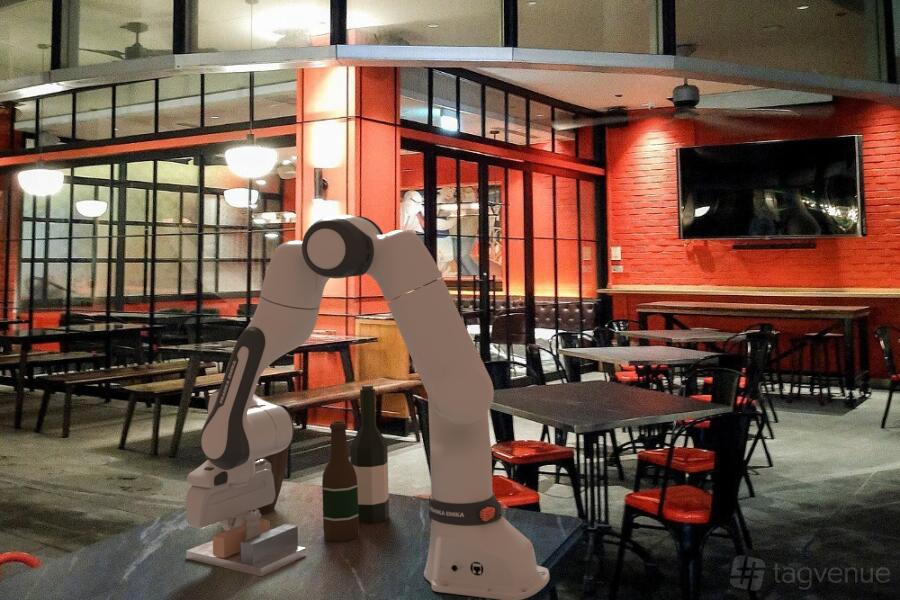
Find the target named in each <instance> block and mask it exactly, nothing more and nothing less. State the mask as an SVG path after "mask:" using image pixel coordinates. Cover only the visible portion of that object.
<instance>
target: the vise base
mask: <svg viewBox="0 0 900 600" xmlns="http://www.w3.org/2000/svg"><path fill="white" fill-rule="evenodd" d="M298 529H299V527H298V525H294V524H289V523H285V524H282V525H280V526H277V527H274V528H273V529H270V530H269V531H267V532H265V533H262V534H260V535H257V536H255V537H252V538H250V539H247V540H245V541H242V542H241V551H240V552H238V553H235V554H233V555H230V556H228V557H226V558H222V557H218V556H213V540H211V541H208V542H205V543H202V544H201V545H197V546H195V547H192V548H189V549H187V550H185V551H186V552H185V553H186V554H185V555H186V556H185V557H186V559H187V560H192V561H196V562H199V563H205V564H208V565H212V566H217V567H220V568H225V569H228V570H232V571H233V570H234V571H237V572H241V573H245V574H250V575H254V576H258V577H263V576H266V575H267V574H269V573H271V572H273V571H276V570H278V569H281V568H282V567H284V566H286V565H289V564H291V563H293V562H295V561H297V560H301V558H303V557H307V548H306V547H305V546H304V547H303V546H299V532H298Z"/></svg>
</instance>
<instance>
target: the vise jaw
mask: <svg viewBox="0 0 900 600" xmlns="http://www.w3.org/2000/svg"><path fill="white" fill-rule="evenodd" d="M259 522H260V533H261V534H262V533H265V532H267V531H269V530H271V527H270V526H271V523H270V520H269V519H268V520H267V519H264V518H260V519H259ZM246 532H247V526H246V523H245V524H244V525H241V526H238V527H235V528H233V529H230V530H227V531H225V530H224V531H222V532H220V533H217V534H215V535H212V541H213V556H218V557H222V558H226V557H228V556H230V555H233V554H235V553H238V552H240V551H241V542H242V541H244V540H245V539H246Z"/></svg>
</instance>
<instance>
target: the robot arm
mask: <svg viewBox="0 0 900 600" xmlns="http://www.w3.org/2000/svg"><path fill="white" fill-rule="evenodd" d="M364 275H367V276H370V277H371V278H372V279H373V280H374V282H375V283H377V286H378V287H379V289H380V291H381V294H382V296H383V299H384V300H385V302H386V305H387V307H388V309H389V311H390V314H391V316H392V318H393V321H394V322H395V325H396V326H397V329H398V331H399V333H400V336H401V338H402V340H403V343H404V344H405V346H406V349H407V351H408V353H409V355H410V357H411V360H412V363H413V364H414V365H413V366H414V367H415V369H416V371H417V374H418V376H419V378H420V381H421V383H422V385H423V387H424V390H425V392H426V394H427V399H428V401H427V403H428V406H427V407H428V429H429V430H428V431H429V433H428V434H429V451H430V452H429V453H430V454H429V455H430V459H429V460H430V463H429V464H430V492H431V493H430V495H429V496H428V515H429V516H428V517H429V518H428V519H429V522H430V534H429V535H430V536H429V547H428V552H427V553H428V554H427V558H426V564H425V566H424V570H423V576H424V578H425V579H426V580H427V581H428V582H429V583H430V585H431V590H432V591H434V592H437V593H445V594H452V595H460V596H461V595H462V596H470V597H475V598H477V597H478V598H484V599H492V600H493V599H495V600H524V599H527V598H529V597H532V596H533V595H536V594H537V593H538V592H540V591H541V590H542V589H544V588H545V587H546V585H547V584H548V583H549V581H550V576H551V575H550V570H549V568H547V567H544V566H540V565H538V564H537V563H538V562H537V558H536V552H535V549H534V545H533V543H532V542H531V540H530V539H528V537H526V536H525V535H524V534H523V533H522V532H520V530H518V529H517V528H516V527H514V525H512V524H511V523H510V521H508V520H507V519H506V518H505V517H503V513H502V509H503V508H505V507H506V504H505V503H506V502H507V501H506V499H503V500H501V501H499V500H498V499H497V497H496V495H495V494H494V493H493V466H492V465H493V463H492V459H493V457H492V444H491V434H490V424H489V421H490V420H489V410H490V408H492V404H493V401H494V395H495V394H494V393H495V391H494V385H493V381H492V378H491V376H490V374H489V372H488V370H487V368H486V366H485V364H484V361H483V360H482V358H481V357H482V356H480V354H479V351H478V350H477V347H476V345H475V343H474V341H473V339H472V337H471V335H470V333H469V331H468V329H467V327H466V325H465V322H464V321H463V319H462V316H461V315H460V313H459V310H458V308H457V306H456V304H455V302H454V299H453V297H452V295H451V293H450V291H449V289H448V287H447V283H446V282H445V279H444V277H443V275H442V272H441V271H440V269H439V267H438V265H437V263H436V261H435V259H434V257H433V256H432V254H431V253H430V251H429V250H428V248H427V247H426V245H425V244H424V242H423V241H422V239H421V238H420V237H419V236H418V235H417V233H415V232H414V231H412V230H408V229H396V230H393V231H389V232H387V233H383V231H382V229H381V227H380V226H379V225H378V224H376V222H375V221H373V220H372V219H370V218H367V217H366V216H365V217H364V216H359V215H352V214H339V215H333V216H327V217H324V218H321V219H318V220H317V221H315V222H314V223H313V224H311V225H310V227H309V228H308V229H307V230H306V231H305V233H304V236H303V238H302V240H290V241H285V242H283V243H281V244H280V245H278V246H277V247H276V248H275V250H274V251H273V254H272V255H271V258H270V261H269V263H268V266H267V269H266V272H265V275H264V278H263V281H262V282H263V283H262V286H261V291H260V295H259V300H258V302H257V305H256V306H257V307H256V309H255V312H254V314H253V316H252V317H251V320H250V322H249V324H248V325H247V327H246V328H245V329H244V330H243V331H242V332H241V333H240V335H239V337H238V338H237V340H236V343H235V344H234V347H233V350H232V352H231V355H230V358H229V361H228V363H227V366H226V370H225V372H224V375H223V379H222V382H221V385H220V387H219V388H218V389H217V390H214V391H213V392H212V393H211V395H210V397H209V401H208V406H207V418H206V420H205V422H204V425H203V426H202V428H201V429H202V430H201V433H200V440H199V443H200V448H201V452H202V454H203V455H204V457H205V458H206V459H207V460H206V461H204V462H203V463H202V464H201V465H200V466H198V467H196V468H195V469H194V470H193V471H191V472H190V473H188V474H187V476H186V482H187V485H190V487H189V488H188V490H187V493H186V499H185V501H186V502H185V517H186V518H185V519H186V520H185V521H186V523H187V525H188V526H190V527H192V528H195V529H205V528H207V527H211V526H213V525H215V524H218V523H220V525H221V527H222V528H223V530H224V532H225V531H227V530H230V529H233V528H235V527H238V526H241V525H244V524H246V522H247V520H246V519H245V518H244V516H245V515H246V511H247V510H249V511H250V510H251V509H253V510H254V509H257V508H260V507H263V506H265V505H268V504H271V503H273V501H274V499H275V486H274V479H273V475H272V472H271V464H270V463H269V461H267V460H266V459H261V460H259V461H255V460H256V459H260V458H263V457H266V456H269V455H272V454H275V453H278V452H281V451H282V450H285V449H286V448H287V447H288V446H289V447H290V445H291V443H292V440H293V438H294V432H295V431H294V430H295V428H294V427H295V426H294V422H293V418H292V416H291V414H290V413H289V411H288V410H287V409H286V408H285V407H284V406H282V405H279V404H274V403H272V402H269V401H267V400H264V399H263V398H261V397H259V396H257V394H255V392H256V389H257V386H258V384H259V380H260V378H261V376H262V375H263V373H264V371H265V370H266V369H267V368H268V367H269V366H270V365H271V364H272V363H274V362H275V361H276V360H278V359H279V358H281V357H282V356H284V355H286V354H288V353H289V352H291V351H294V350H295V349H297V348H299V347H301V346H302V345H303V344H305V343H306V342H307V341H308V340H309V339H310V337H311V336H312V335H313V332H314V330H315V328H316V325H317V322H318V320H319V313H320V309H321V304H322V300H323V299H322V298H323V294H324V290H325V287H326V284H327V283H328V281H329V280H330V279H344V278H350V277H351V278H352V277H359V276H364ZM266 462H267V463H266ZM234 518H236V519H235V521H234ZM233 522H234V526H233V525H232V524H233Z"/></svg>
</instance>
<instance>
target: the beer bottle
mask: <svg viewBox="0 0 900 600" xmlns="http://www.w3.org/2000/svg"><path fill="white" fill-rule="evenodd" d="M329 424H330V425H329V429H330V453H329V461H328V462H327V464H326V465H325V467H324V470H323V473H322V480H321V484H322V485H321V487H322V490H321V491H322V517H323V518H322V521H323V523H322V525H323V538H324V540H325V541H328V542H333V543H341V542H343V543H344V542H349V541H352V540H354V539H356V538H358V537H359V528H360V527H359V524H360V523H358V484H357V476H356V472H355V469H354V467H353V465H352V463H351V460H350V458H349V454H348V442H347V431H346V429H348V426H347V423H346V422H345V421H341V420H339V421H338V420H337V421H332V422H330V423H329Z"/></svg>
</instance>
